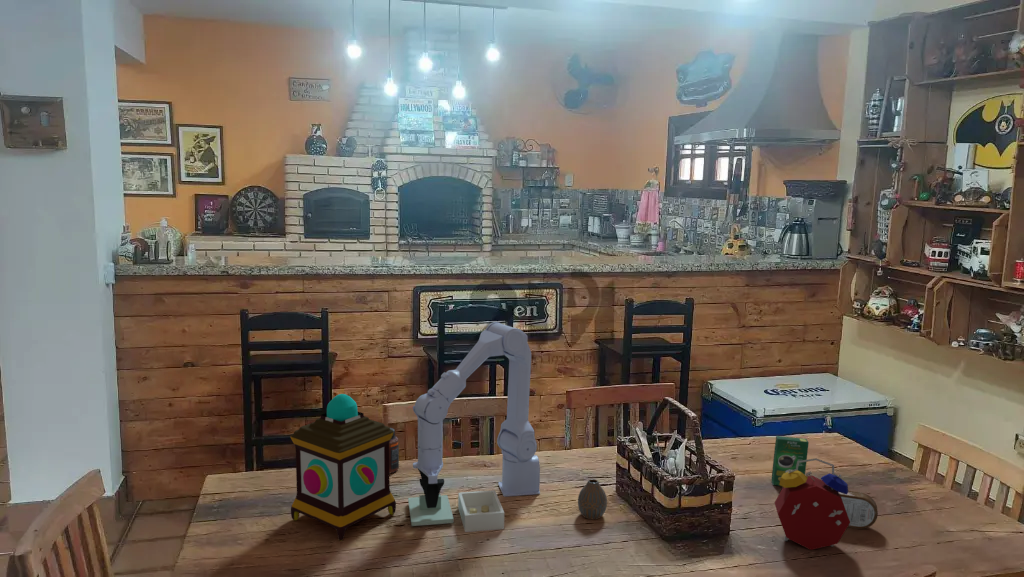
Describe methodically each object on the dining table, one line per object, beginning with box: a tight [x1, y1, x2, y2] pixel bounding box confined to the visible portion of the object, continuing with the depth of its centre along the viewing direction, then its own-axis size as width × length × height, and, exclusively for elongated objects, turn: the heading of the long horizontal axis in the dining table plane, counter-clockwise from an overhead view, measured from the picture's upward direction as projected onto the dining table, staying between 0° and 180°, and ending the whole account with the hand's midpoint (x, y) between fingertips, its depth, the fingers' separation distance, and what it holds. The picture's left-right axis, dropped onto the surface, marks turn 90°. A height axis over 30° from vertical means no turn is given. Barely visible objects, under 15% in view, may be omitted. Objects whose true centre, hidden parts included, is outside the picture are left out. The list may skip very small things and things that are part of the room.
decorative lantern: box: [289, 393, 397, 542], centre depth 167 cm, size 20×20×30 cm
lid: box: [407, 493, 454, 527], centre depth 171 cm, size 10×13×5 cm
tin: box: [839, 489, 879, 530], centre depth 170 cm, size 15×3×8 cm, turn 71°
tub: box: [457, 489, 505, 533], centre depth 170 cm, size 9×12×4 cm
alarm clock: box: [774, 457, 850, 551], centre depth 158 cm, size 15×9×20 cm, turn 77°
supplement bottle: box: [389, 427, 400, 474], centre depth 196 cm, size 6×6×11 cm
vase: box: [577, 478, 608, 520], centre depth 172 cm, size 7×7×9 cm
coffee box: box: [771, 435, 809, 487], centre depth 190 cm, size 8×3×13 cm, turn 79°
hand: (430, 499), depth 171 cm, fingers open, 7 cm apart
